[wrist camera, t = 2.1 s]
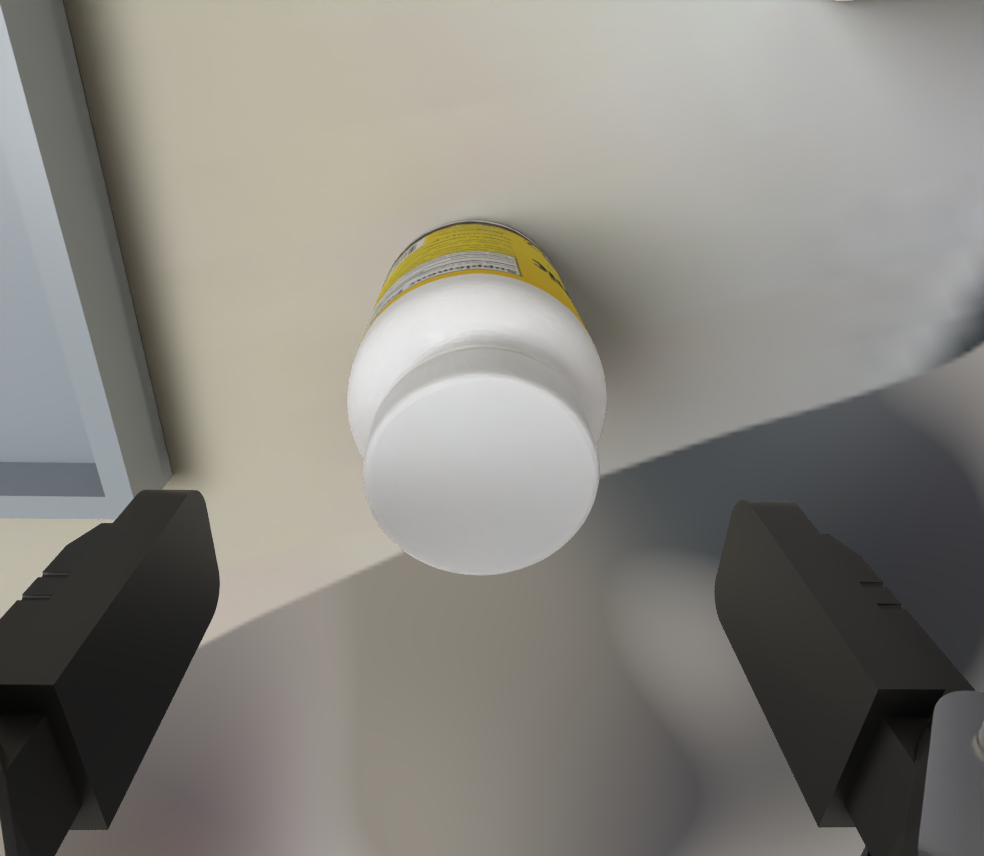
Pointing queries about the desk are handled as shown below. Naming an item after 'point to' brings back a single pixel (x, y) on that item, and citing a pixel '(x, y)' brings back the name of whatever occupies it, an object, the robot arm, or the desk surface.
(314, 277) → the desk surface
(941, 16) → the desk surface
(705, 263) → the desk surface
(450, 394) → the supplement bottle
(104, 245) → the tray
